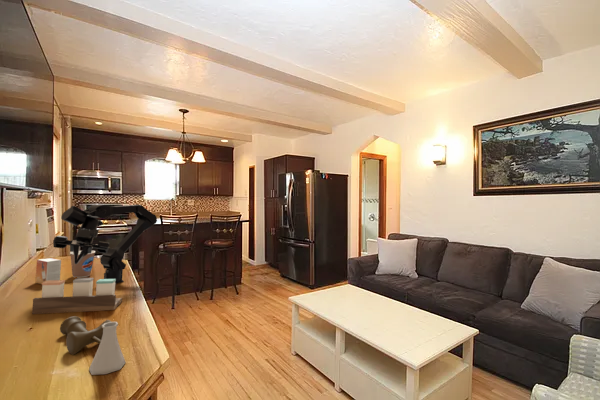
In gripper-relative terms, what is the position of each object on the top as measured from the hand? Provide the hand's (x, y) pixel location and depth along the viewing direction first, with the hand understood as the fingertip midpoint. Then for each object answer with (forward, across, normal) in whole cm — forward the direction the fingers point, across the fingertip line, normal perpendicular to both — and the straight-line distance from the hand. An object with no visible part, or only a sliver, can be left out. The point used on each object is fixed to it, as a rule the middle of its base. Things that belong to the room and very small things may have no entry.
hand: (75, 263), depth 115 cm
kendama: (+37, +11, -32) cm, 50 cm away
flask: (+45, +18, -46) cm, 67 cm away
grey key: (+17, +6, -6) cm, 19 cm away
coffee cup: (-9, 0, +36) cm, 37 cm away
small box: (-2, -11, +30) cm, 32 cm away
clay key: (+18, -2, -6) cm, 19 cm away
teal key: (+18, +13, -10) cm, 25 cm away
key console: (+19, +6, -6) cm, 21 cm away
